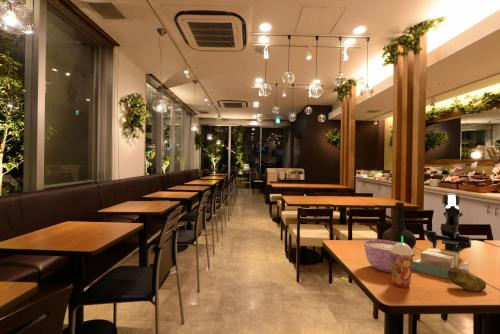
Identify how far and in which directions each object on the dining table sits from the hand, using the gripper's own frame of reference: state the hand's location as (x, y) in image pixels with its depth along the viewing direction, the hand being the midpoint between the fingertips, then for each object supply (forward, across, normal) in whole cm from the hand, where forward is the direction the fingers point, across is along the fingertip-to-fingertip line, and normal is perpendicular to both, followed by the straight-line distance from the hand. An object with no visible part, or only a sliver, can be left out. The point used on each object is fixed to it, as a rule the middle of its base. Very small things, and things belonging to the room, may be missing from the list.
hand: (444, 252), depth 151 cm
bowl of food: (+24, -17, -15) cm, 33 cm away
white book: (+10, 0, -1) cm, 10 cm away
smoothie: (+35, -5, -26) cm, 44 cm away
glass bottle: (-4, -26, +13) cm, 29 cm away
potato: (+24, +14, -14) cm, 31 cm away
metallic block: (+11, 0, -1) cm, 11 cm away
